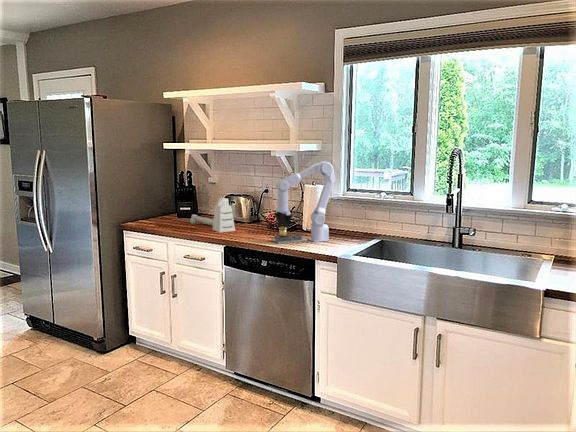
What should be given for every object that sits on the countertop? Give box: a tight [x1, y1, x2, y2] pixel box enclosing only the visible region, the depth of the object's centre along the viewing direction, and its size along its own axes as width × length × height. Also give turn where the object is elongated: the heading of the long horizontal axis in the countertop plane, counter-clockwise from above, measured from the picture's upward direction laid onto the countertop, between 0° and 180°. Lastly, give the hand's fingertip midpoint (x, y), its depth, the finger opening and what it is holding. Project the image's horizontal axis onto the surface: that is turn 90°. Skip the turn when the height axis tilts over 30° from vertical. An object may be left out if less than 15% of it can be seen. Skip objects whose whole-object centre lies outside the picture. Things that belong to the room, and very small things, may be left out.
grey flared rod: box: [189, 214, 214, 227], centre depth 317 cm, size 5×7×25 cm
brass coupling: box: [278, 226, 288, 238], centre depth 264 cm, size 5×5×7 cm
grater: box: [212, 197, 236, 233], centre depth 297 cm, size 10×10×20 cm
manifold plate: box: [271, 233, 309, 245], centre depth 267 cm, size 18×9×3 cm, turn 114°
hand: (283, 226), depth 264 cm, fingers open, 7 cm apart
